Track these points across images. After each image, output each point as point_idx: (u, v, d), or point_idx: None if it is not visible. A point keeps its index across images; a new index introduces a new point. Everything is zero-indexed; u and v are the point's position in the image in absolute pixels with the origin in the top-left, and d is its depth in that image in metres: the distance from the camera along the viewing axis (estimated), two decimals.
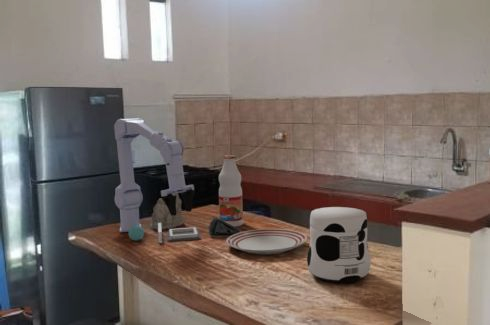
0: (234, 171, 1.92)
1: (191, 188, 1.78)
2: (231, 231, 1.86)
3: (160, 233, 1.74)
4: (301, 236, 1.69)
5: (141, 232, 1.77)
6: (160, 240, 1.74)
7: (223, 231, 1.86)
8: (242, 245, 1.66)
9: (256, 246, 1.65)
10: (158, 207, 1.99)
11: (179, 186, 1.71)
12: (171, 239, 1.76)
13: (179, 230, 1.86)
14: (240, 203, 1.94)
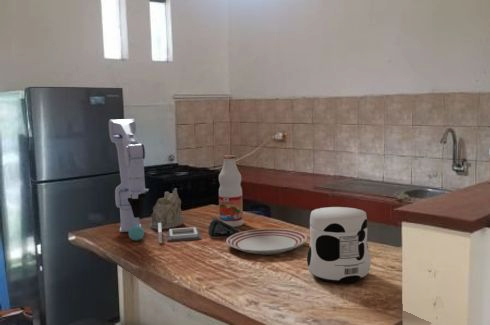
0: (234, 171, 1.92)
1: None
2: (231, 232, 1.84)
3: (160, 233, 1.74)
4: (301, 236, 1.69)
5: (141, 232, 1.77)
6: (160, 240, 1.74)
7: (223, 232, 1.85)
8: (242, 245, 1.66)
9: (256, 246, 1.65)
10: (158, 207, 1.99)
11: (143, 188, 1.75)
12: (171, 239, 1.76)
13: (179, 230, 1.86)
14: (240, 203, 1.94)
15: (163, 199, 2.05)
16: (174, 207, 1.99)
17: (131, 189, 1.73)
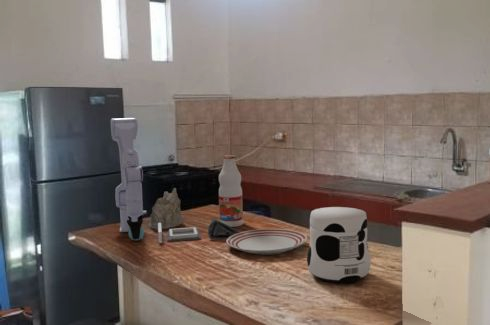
0: (234, 171, 1.92)
1: None
2: (230, 233, 1.83)
3: (160, 233, 1.74)
4: (301, 236, 1.69)
5: (141, 232, 1.77)
6: (160, 240, 1.74)
7: (222, 233, 1.83)
8: (242, 245, 1.66)
9: (256, 246, 1.65)
10: (157, 207, 1.99)
11: (141, 211, 1.76)
12: (171, 239, 1.76)
13: (179, 230, 1.86)
14: (240, 203, 1.94)
15: (162, 199, 2.05)
16: (173, 207, 2.00)
17: (130, 211, 1.75)
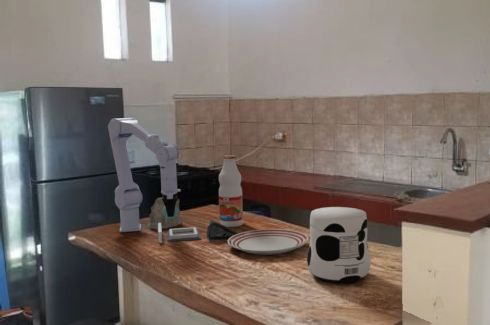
0: (234, 171, 1.92)
1: None
2: (227, 234, 1.81)
3: (160, 233, 1.74)
4: (302, 236, 1.69)
5: (175, 210, 1.79)
6: (160, 240, 1.74)
7: (219, 235, 1.81)
8: (243, 245, 1.66)
9: (257, 246, 1.64)
10: (156, 207, 1.99)
11: (176, 189, 1.78)
12: (171, 239, 1.76)
13: (179, 230, 1.86)
14: (240, 203, 1.94)
15: (161, 199, 2.05)
16: None
17: (164, 189, 1.77)
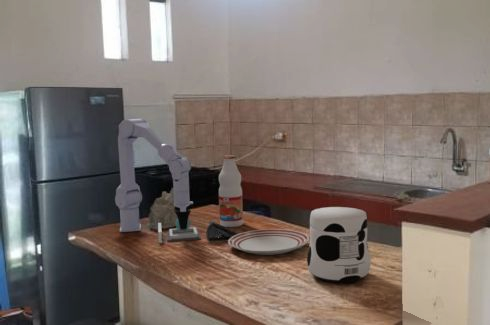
0: (234, 171, 1.92)
1: None
2: (226, 235, 1.80)
3: (160, 233, 1.74)
4: (303, 236, 1.68)
5: (188, 222, 1.81)
6: (160, 240, 1.74)
7: (217, 236, 1.80)
8: (244, 246, 1.66)
9: (258, 247, 1.64)
10: (155, 207, 1.99)
11: (188, 201, 1.80)
12: (171, 239, 1.76)
13: (179, 230, 1.86)
14: (240, 203, 1.94)
15: (161, 199, 2.05)
16: (172, 207, 2.00)
17: (177, 202, 1.79)
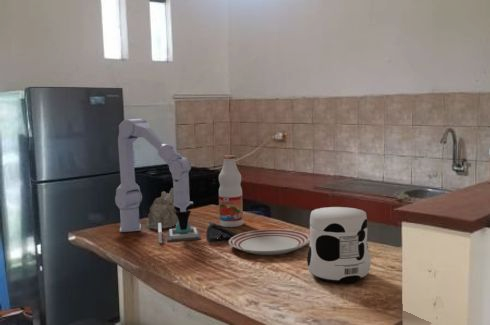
0: (234, 171, 1.92)
1: None
2: (225, 236, 1.79)
3: (160, 233, 1.74)
4: (304, 236, 1.68)
5: (188, 227, 1.81)
6: (160, 240, 1.74)
7: (216, 237, 1.79)
8: (245, 246, 1.66)
9: (259, 247, 1.64)
10: (155, 207, 1.99)
11: (188, 201, 1.80)
12: (171, 239, 1.76)
13: None
14: (240, 203, 1.94)
15: (160, 199, 2.05)
16: (171, 207, 2.00)
17: (177, 202, 1.79)
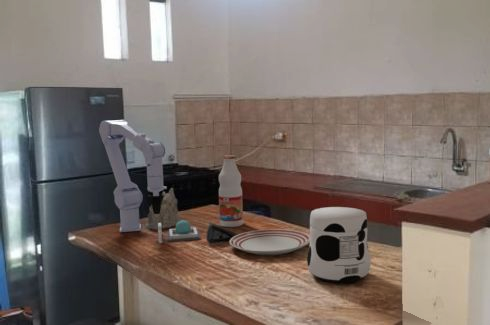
0: (234, 171, 1.92)
1: None
2: (224, 236, 1.78)
3: (160, 233, 1.74)
4: (305, 237, 1.68)
5: (188, 228, 1.80)
6: (160, 240, 1.74)
7: (215, 237, 1.78)
8: (245, 246, 1.65)
9: (259, 247, 1.64)
10: None
11: (162, 186, 1.81)
12: (171, 239, 1.76)
13: None
14: (240, 203, 1.94)
15: None
16: (170, 207, 2.00)
17: (151, 187, 1.79)
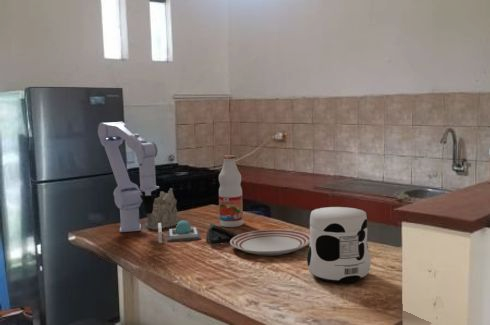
0: (234, 171, 1.92)
1: None
2: (223, 237, 1.77)
3: (160, 233, 1.74)
4: (305, 237, 1.68)
5: (188, 229, 1.80)
6: (160, 240, 1.74)
7: (215, 238, 1.76)
8: (246, 246, 1.65)
9: (260, 247, 1.64)
10: (153, 207, 1.99)
11: (154, 186, 1.81)
12: (171, 239, 1.76)
13: None
14: (240, 203, 1.94)
15: (158, 199, 2.05)
16: (170, 207, 2.00)
17: (143, 186, 1.80)
